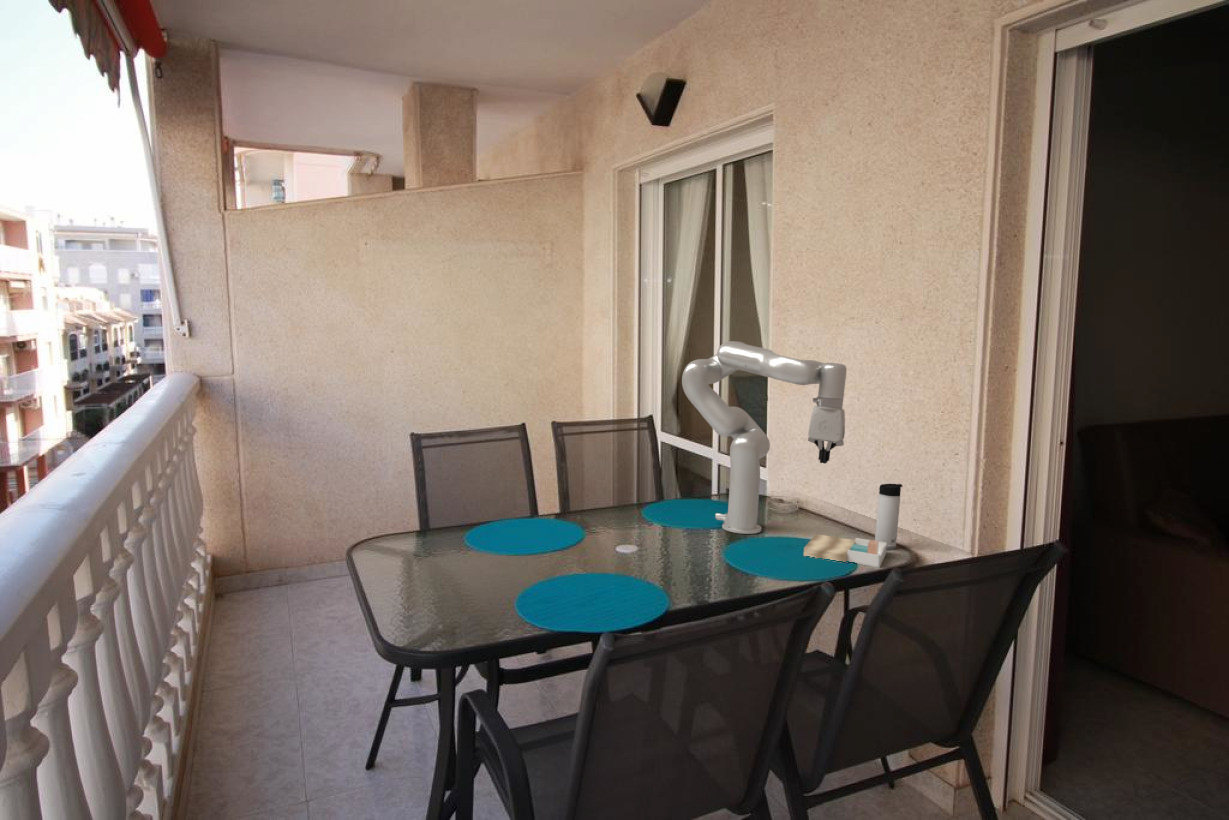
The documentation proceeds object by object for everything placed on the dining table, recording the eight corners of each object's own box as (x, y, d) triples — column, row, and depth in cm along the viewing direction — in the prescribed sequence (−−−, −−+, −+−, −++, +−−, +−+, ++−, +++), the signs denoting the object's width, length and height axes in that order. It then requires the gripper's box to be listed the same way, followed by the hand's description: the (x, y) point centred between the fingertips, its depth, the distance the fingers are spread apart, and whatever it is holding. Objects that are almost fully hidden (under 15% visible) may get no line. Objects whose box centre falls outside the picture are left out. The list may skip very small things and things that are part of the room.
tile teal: (850, 555, 224) (851, 547, 224) (852, 552, 228) (853, 543, 228) (866, 558, 222) (867, 549, 222) (868, 554, 226) (869, 546, 226)
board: (803, 556, 223) (804, 547, 223) (815, 542, 239) (816, 534, 239) (846, 563, 218) (846, 554, 218) (855, 548, 234) (856, 540, 234)
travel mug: (898, 551, 233) (904, 486, 231) (875, 549, 235) (881, 484, 233) (895, 545, 239) (900, 482, 237) (873, 543, 241) (878, 480, 239)
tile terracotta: (868, 543, 221) (877, 544, 220) (870, 539, 226) (879, 541, 224) (866, 558, 222) (875, 560, 221) (868, 554, 226) (877, 556, 225)
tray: (846, 562, 219) (847, 550, 218) (854, 549, 233) (855, 537, 233) (879, 567, 215) (880, 555, 215) (886, 554, 229) (887, 542, 229)
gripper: (802, 401, 234) (796, 460, 236) (852, 407, 227) (845, 468, 229) (808, 400, 241) (802, 457, 243) (857, 405, 234) (850, 465, 236)
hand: (823, 462), depth 236 cm, fingers closed
